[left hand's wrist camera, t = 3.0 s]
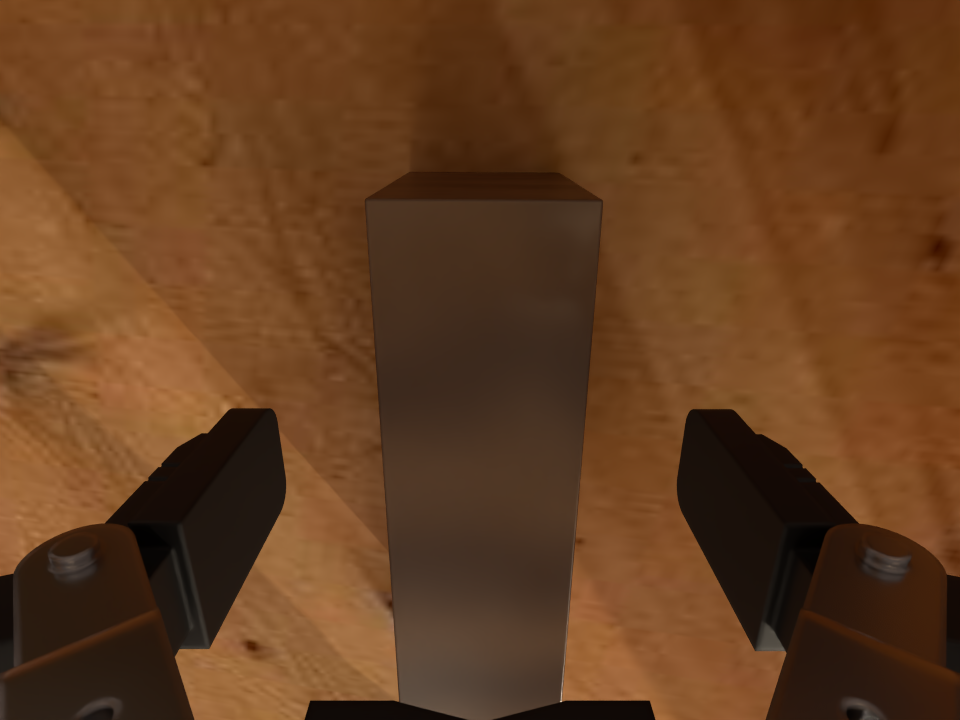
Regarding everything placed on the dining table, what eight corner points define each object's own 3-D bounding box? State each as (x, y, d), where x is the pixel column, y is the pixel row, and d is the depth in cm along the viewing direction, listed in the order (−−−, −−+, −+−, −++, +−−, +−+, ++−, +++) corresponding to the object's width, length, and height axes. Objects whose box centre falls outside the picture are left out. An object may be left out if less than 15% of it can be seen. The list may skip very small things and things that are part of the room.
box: (408, 171, 23) (364, 198, 14) (560, 172, 22) (604, 199, 14) (425, 594, 31) (403, 765, 22) (537, 595, 31) (556, 767, 22)
